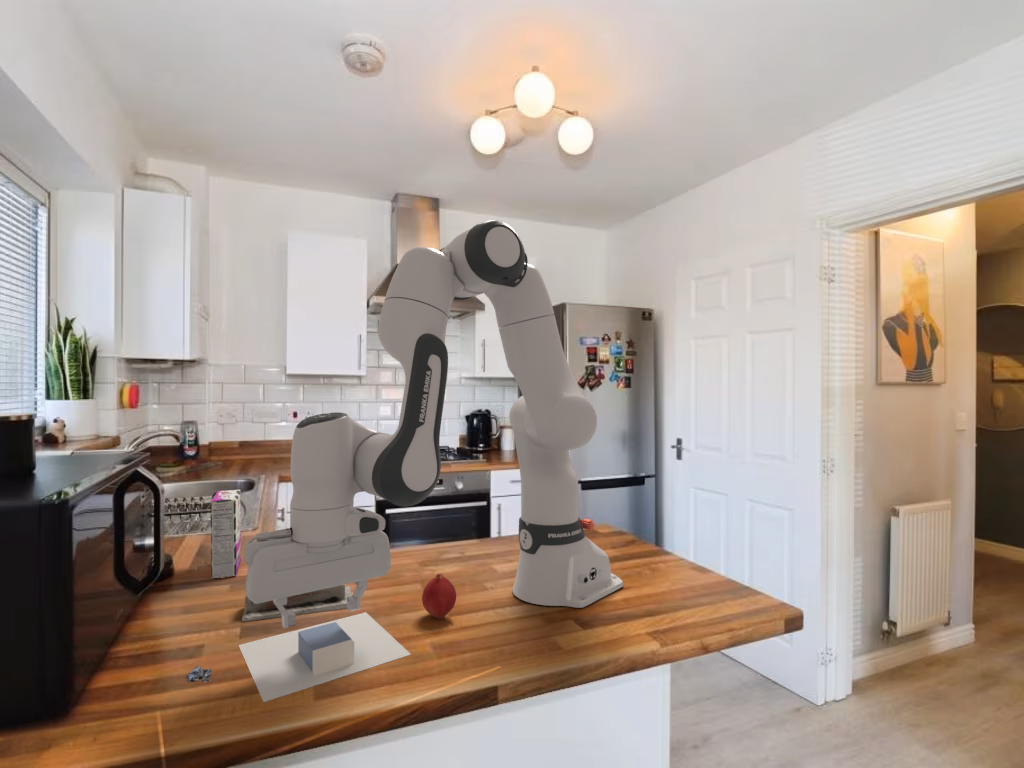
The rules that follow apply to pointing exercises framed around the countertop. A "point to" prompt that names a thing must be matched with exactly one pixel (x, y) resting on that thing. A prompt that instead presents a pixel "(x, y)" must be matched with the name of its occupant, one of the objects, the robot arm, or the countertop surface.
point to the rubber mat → (288, 673)
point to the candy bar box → (225, 534)
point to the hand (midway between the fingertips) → (322, 617)
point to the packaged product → (300, 603)
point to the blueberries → (199, 674)
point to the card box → (325, 648)
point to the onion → (439, 596)
